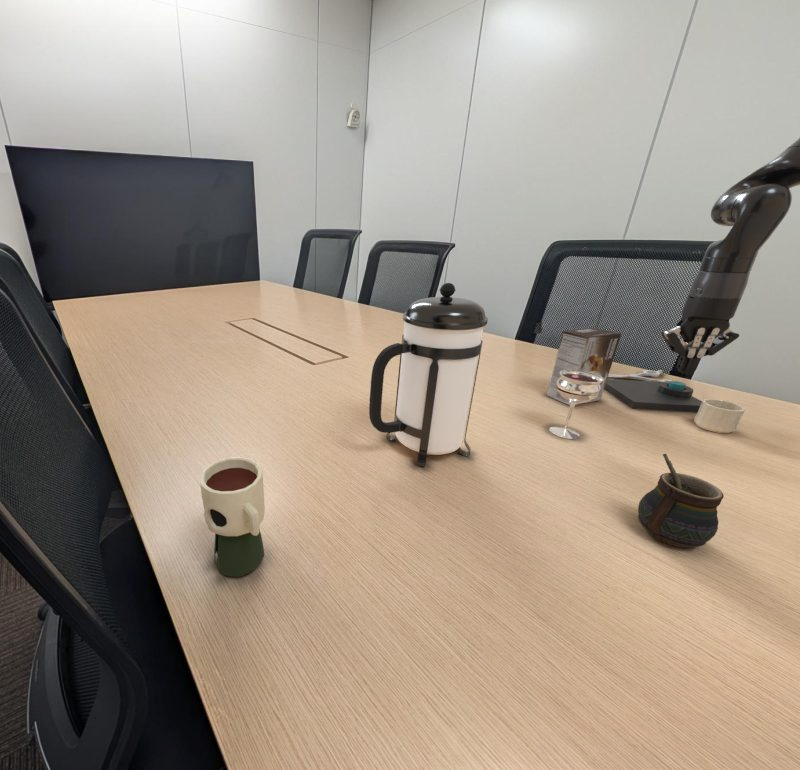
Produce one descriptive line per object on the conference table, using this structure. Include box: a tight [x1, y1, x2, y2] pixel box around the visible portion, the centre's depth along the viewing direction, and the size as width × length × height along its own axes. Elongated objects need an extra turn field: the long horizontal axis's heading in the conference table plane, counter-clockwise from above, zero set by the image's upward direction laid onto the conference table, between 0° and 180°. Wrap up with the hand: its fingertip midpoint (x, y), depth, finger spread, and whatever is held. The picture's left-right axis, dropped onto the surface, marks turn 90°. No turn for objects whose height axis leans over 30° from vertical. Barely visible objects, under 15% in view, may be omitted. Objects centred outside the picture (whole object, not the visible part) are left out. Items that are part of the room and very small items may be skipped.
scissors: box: [608, 369, 673, 383], centre depth 98 cm, size 11×1×20 cm
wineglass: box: [548, 370, 604, 440], centre depth 71 cm, size 7×7×12 cm
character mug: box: [199, 456, 266, 578], centre depth 45 cm, size 11×7×13 cm, turn 34°
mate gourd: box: [637, 453, 725, 549], centre depth 47 cm, size 7×8×10 cm
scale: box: [604, 378, 703, 413], centre depth 87 cm, size 14×14×3 cm
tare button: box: [668, 380, 687, 390], centre depth 85 cm, size 3×3×1 cm
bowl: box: [693, 398, 746, 434], centre depth 73 cm, size 6×6×5 cm
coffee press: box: [368, 282, 489, 468], centre depth 64 cm, size 17×16×30 cm
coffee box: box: [546, 327, 622, 406], centre depth 85 cm, size 9×6×16 cm
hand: (684, 372), depth 84 cm, fingers closed
